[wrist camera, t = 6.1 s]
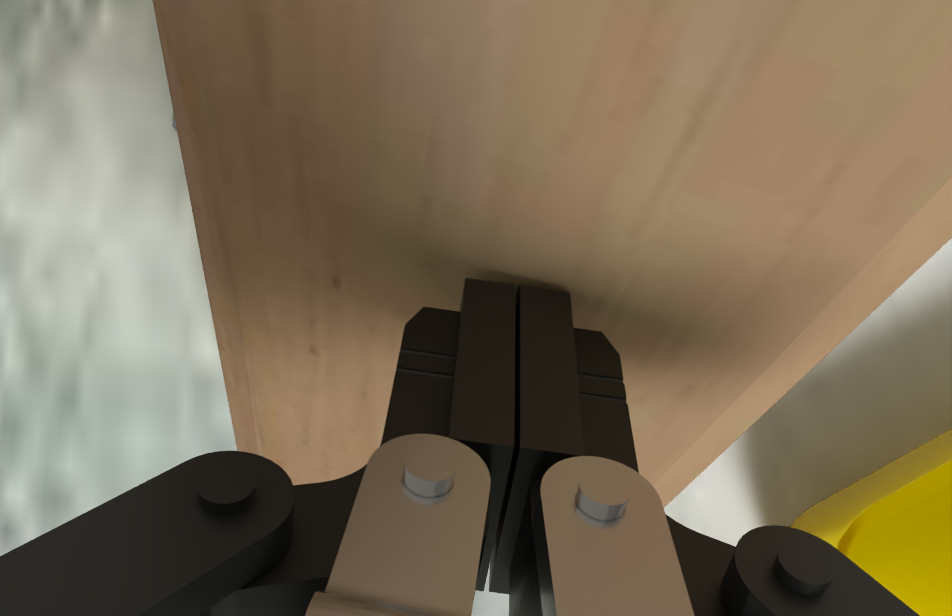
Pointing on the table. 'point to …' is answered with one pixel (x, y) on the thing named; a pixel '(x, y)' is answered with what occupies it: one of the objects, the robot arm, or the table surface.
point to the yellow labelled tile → (897, 526)
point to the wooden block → (554, 193)
